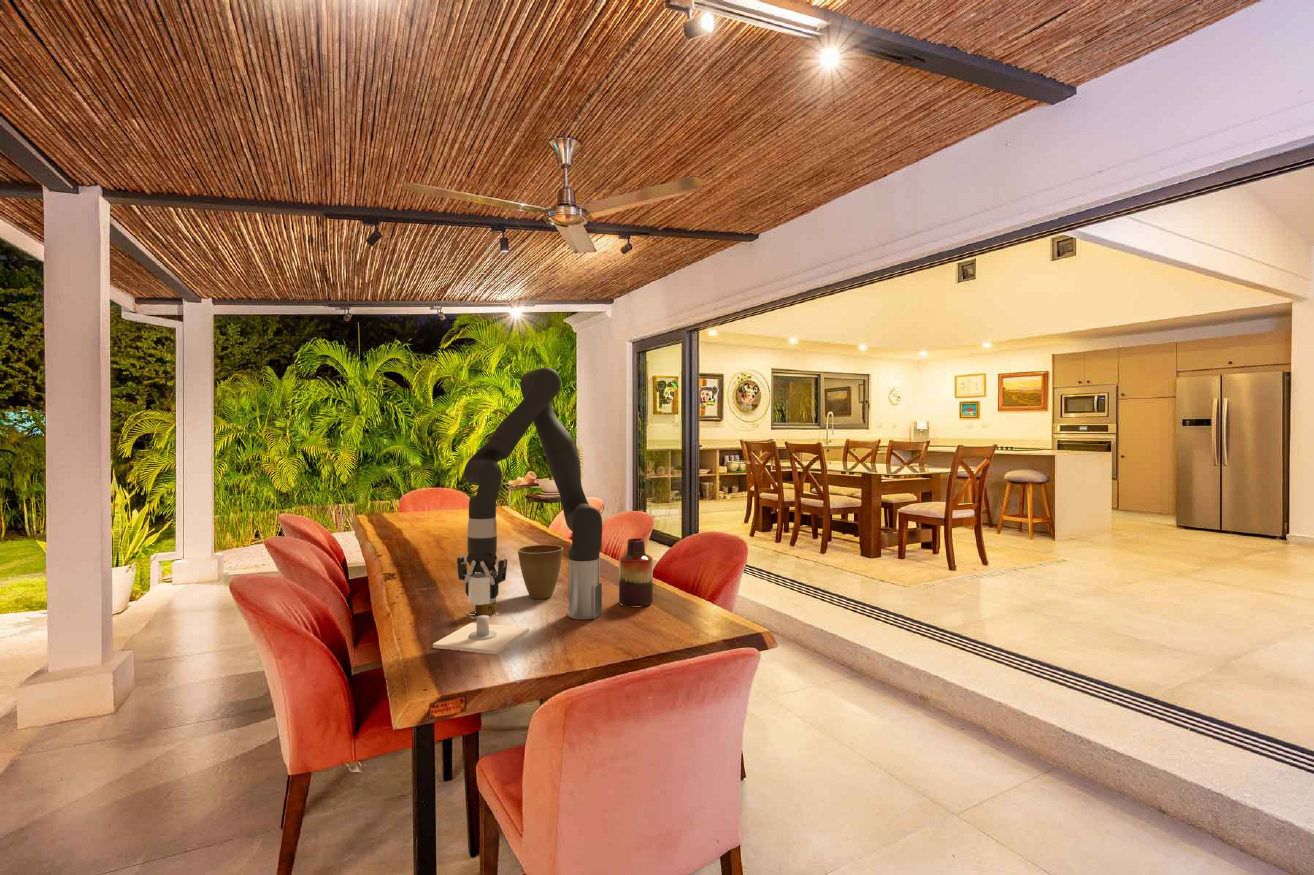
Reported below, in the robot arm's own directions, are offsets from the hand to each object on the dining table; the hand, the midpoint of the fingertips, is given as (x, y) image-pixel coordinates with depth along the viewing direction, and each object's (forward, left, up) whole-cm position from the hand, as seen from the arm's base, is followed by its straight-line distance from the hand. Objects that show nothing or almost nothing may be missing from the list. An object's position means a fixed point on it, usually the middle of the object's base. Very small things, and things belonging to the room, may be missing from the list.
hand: (481, 596), depth 167 cm
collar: (0, 0, -1) cm, 1 cm away
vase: (-29, -44, -12) cm, 54 cm away
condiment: (+12, -20, -12) cm, 26 cm away
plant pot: (+4, -43, -12) cm, 45 cm away
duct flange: (0, 0, -11) cm, 11 cm away
